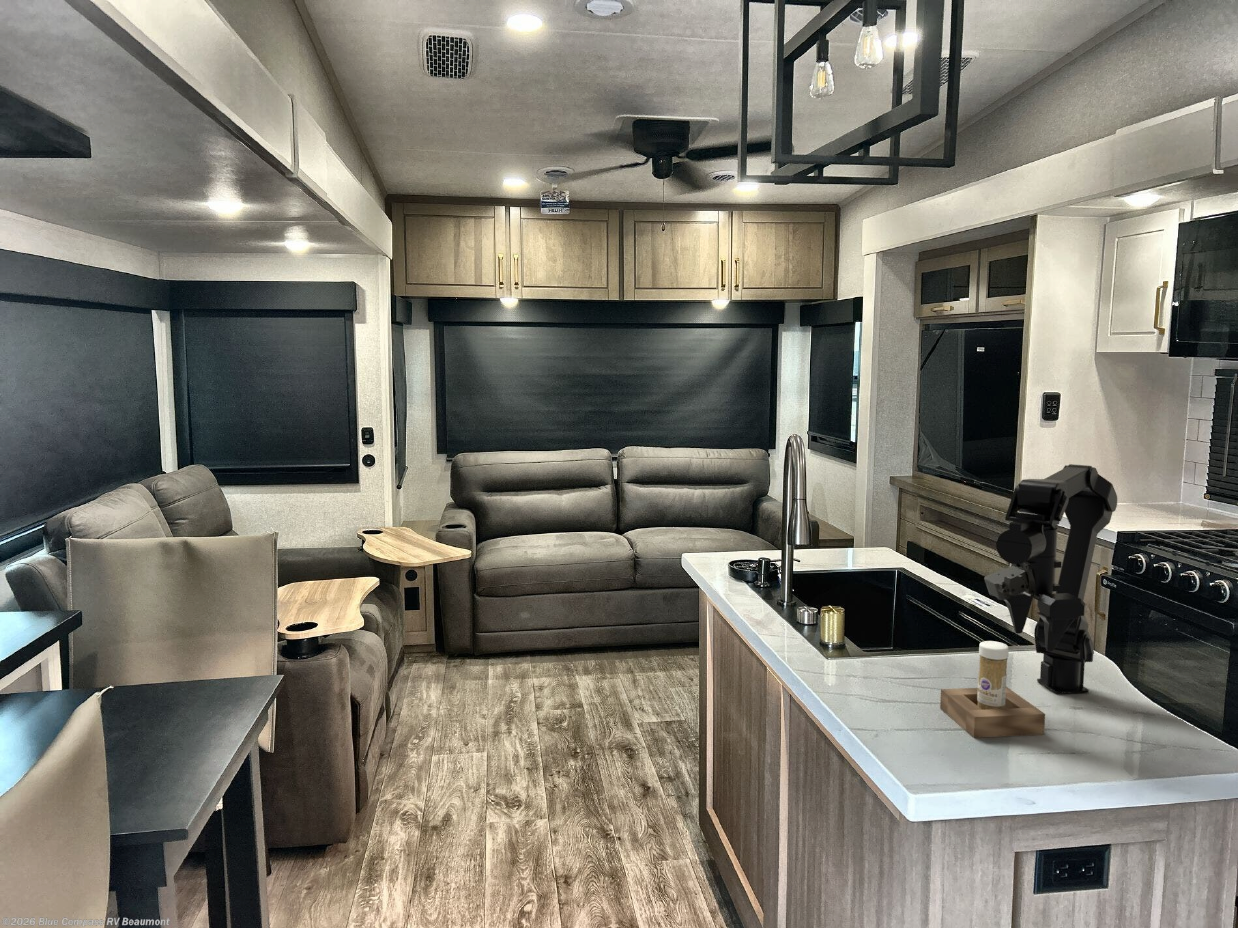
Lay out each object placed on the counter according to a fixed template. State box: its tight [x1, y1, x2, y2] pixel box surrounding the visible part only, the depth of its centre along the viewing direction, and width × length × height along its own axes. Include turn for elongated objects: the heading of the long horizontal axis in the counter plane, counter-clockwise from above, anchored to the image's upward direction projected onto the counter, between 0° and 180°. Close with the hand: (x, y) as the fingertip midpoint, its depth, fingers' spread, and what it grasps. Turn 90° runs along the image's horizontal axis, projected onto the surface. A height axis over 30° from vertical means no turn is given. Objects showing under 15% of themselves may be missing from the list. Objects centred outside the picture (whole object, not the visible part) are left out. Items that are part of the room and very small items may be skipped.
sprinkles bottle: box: [977, 640, 1010, 710], centre depth 146 cm, size 5×5×14 cm
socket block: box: [939, 686, 1046, 738], centre depth 146 cm, size 12×12×4 cm
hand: (1033, 641), depth 149 cm, fingers open, 9 cm apart
